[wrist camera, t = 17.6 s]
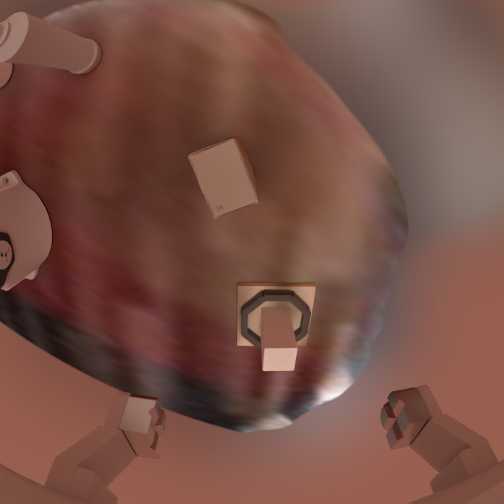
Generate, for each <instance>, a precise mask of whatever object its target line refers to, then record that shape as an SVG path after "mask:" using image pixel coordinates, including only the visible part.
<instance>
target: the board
mask: <svg viewBox="0 0 504 504" xmlns="http://www.w3.org/2000/svg"><path fill="white" fill-rule="evenodd" d="M315 289H316V286H315V283H249V282H238V306H237V346H255V347H257V348H258V349H260V348H261V333H260V323H261V307H289V310H290V315H291V319H292V324H293V329H294V334H295V338H296V343H297V345H306V343H307V338H308V332H309V326H310V320H311V314H312V308H313V302H314V295H315ZM261 350H262V349H261Z"/></svg>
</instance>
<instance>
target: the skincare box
mask: <svg viewBox="0 0 504 504" xmlns="http://www.w3.org/2000/svg"><path fill="white" fill-rule="evenodd" d="M188 158H189V161H190V163H191V166H192V168H193V171H194V173H195V176H196V178H197V180H198V183H199V185H200V188H201V190H202V192H203V195H204V197H205V199H206V202H207V204H208V206H209V209H210V211H211V213H212V216H213V218H214V219H216V218H219V217H222V216H225V215H228V214H231V213H233V212H236V211H239V210H242V209H244V208H247V207H249V206H252V205H254V204H257V203H258V197H257V187H256V178H255V175H254V172H253V169H252V166H251V164H250V161H249V158H248V156H247V153H246V151H245V148H244V146H243V144H242V141H241V139H240V137H235V138H232V139H229V140H226V141H223V142H220V143H217V144H214V145H211V146H209V147H206V148H203V149H201V150H198V151H196V152H194V153H191V154H189V156H188Z"/></svg>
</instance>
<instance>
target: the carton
mask: <svg viewBox="0 0 504 504" xmlns="http://www.w3.org/2000/svg"><path fill="white" fill-rule="evenodd" d="M260 333H261V349H262V365H263V371H288V370H294V366H295V360H296V354H297V343H296V338H295V334H294V329H293V324H292V319H291V315H290V310H289V307H261V323H260Z"/></svg>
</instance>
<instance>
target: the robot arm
mask: <svg viewBox="0 0 504 504" xmlns="http://www.w3.org/2000/svg"><path fill="white" fill-rule="evenodd" d="M51 243H52V230H51V224H50V220H49V216H48V213H47V211H46V209H45V206H44V205H43V203H42V201H41V200H40V198H39V197H38V196H37V194H36V193H35V192H34V191H33V190H31V189H30V188H29V187H28V186H26V185H25V184H24V183H23V181H22V179H21V177H20V176H19V174H18V173H17V172H16V171H15V170H12V171H10V172H8V173H6V174H4V175H2V176H0V289H3V290H5V291H7V290H9V289H11V288H12V287H13V286H15V285H16V284H17V283H19V282H20V281H22V280H23V279H24V278H27V279H30V280H32V279H34V278H35V277H36V276H37V274H38V270H39V266H40V265H41V264H42V262H43V261H44V260H45V259H46V258H47V256H48V254H49V252H50V249H51ZM388 400H389V401H388V402H387V403H386V404H385V405H384V406H383V408H382V410H381V423H382V426H383V428H384V429H386V430H387V431H388V433H387V436H386V437H387V440H388V443H389V445H390V448H391V449H397V448H402V447H406V446H410V447H411V448H412V449H413V450H414V451H415V452H416V453H417V454H419V455H420V456H421V457H422V458H423V459H424V460H425V461H426V462H428V463H429V464H430V465H431V466H432V467H433V468H434V469H436V470H437V471H438V472H439V473H438V474H437V475H436V476H435V477H434V478H433V479H432V480H431V482H430V485H431V487H432V491H433V493H434V494H431V495H429V496H426V497H423V498H421V499H418V500H415V501H412V502H409V503H406V504H504V459H503V460H501V461H500V462H498V460H497V458H496V456H495V454H494V452H493V450H492V448H491V446H490V444H489V443H488V440H487V439H486V438H484V437H483V436H481V435H479V434H478V433H476V432H474V431H473V430H471V429H470V428H468V427H466V426H465V425H463V424H462V423H460V422H458V421H457V420H455V419H454V418H452V417H450V416H449V415H447V414H445V415H444V414H443V412H442V411H441V409H440V407H439V405H438V403H437V401H436V399H435V398H434V396H433V394H432V392H431V390H430V388H429V387H428V386H427V385H423V386H419V387H412V388H407V389H402V390H397V391H392V392H391V393H390V394H389V396H388ZM161 405H162V402H161V399H160V398H158V397H151V396H145V395H138V394H132V393H126V392H120V391H119V392H118V393H117V394H116V395H115V398H114V400H113V403H112V405H111V408H110V410H109V413H108V416H107V418H106V421H105V424H104V426H99V427H97V428H96V429H95V430H93V431H92V432H91V433H89V434H88V435H86V436H85V437H83V438H82V439H81V440H79V441H78V442H76V443H75V444H73V445H72V446H71V447H69V448H68V449H66V450H65V451H63V452H62V453H61V454H59V455H58V456H56V457H55V459H54V462H53V464H52V467H51V469H50V472H49V474H48V477H47V480H46V483H45V485H41V484H39V483H37V482H35V481H33V480H31V479H28V478H27V477H25V476H23V475H20V474H19V473H16V472H15V471H13V470H11V469H9V468H7V467H6V466H4V465H2V464H0V504H117V500H118V498H117V497H116V495H115V494H114V493H113V492H112V491H111V490H110V489H108V487H107V486H108V485H109V484H110V483H111V482H112V481H113V480H114V479H115V478H116V477H117V476H118V475H119V474H120V473H121V472H122V471H123V470H124V469H125V468H126V467H127V466H128V465H129V464H130V463H131V462H132V461H133V460H134V459H135V458H136V457H137V456H140V457H147V458H154V459H159V458H160V453H161V448H162V443H161V440H160V438H161V437H162V436H163V435H164V434H165V428H166V416H165V412H164V410H162V409H161Z"/></svg>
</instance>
